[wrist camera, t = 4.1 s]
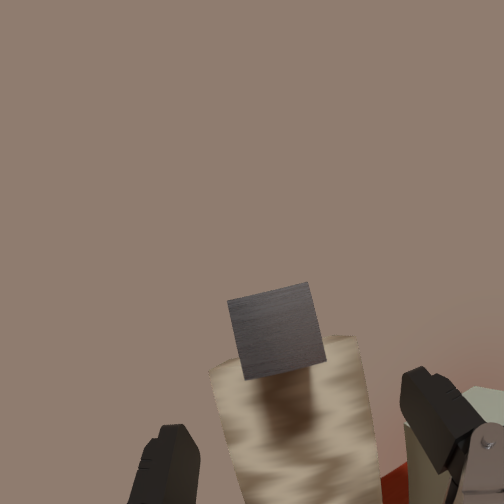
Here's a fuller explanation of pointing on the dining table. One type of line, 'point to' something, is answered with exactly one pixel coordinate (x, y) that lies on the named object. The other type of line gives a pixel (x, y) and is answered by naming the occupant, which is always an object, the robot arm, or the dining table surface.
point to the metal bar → (276, 331)
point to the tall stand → (302, 430)
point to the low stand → (420, 467)
